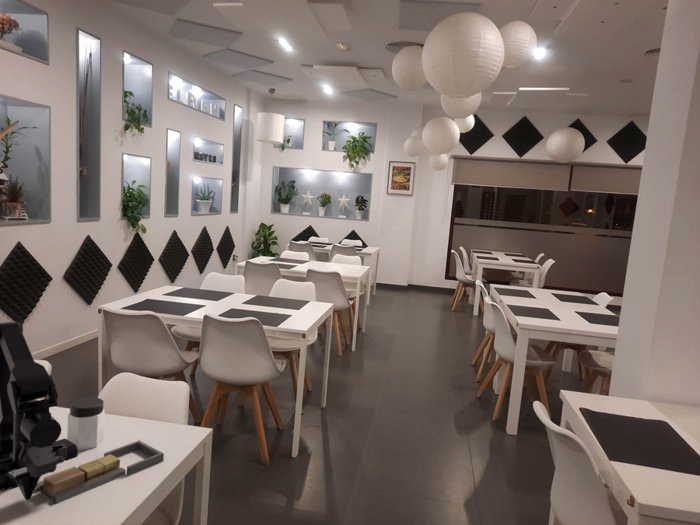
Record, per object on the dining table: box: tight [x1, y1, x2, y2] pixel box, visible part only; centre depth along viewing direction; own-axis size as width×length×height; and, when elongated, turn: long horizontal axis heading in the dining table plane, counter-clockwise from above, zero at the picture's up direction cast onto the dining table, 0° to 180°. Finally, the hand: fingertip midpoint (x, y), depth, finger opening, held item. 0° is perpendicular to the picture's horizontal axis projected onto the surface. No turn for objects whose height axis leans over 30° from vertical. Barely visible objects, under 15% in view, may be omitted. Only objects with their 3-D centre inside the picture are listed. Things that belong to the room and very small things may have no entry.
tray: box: [103, 440, 165, 476], centre depth 131 cm, size 11×10×3 cm
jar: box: [66, 396, 106, 451], centre depth 138 cm, size 9×8×12 cm
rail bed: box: [35, 467, 127, 504], centre depth 119 cm, size 9×16×2 cm, turn 147°
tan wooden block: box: [95, 454, 121, 475], centre depth 125 cm, size 4×4×3 cm
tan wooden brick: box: [42, 466, 85, 497], centre depth 116 cm, size 4×7×3 cm, turn 146°
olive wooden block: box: [77, 459, 104, 482], centre depth 121 cm, size 4×4×3 cm
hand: (27, 498), depth 109 cm, fingers closed
